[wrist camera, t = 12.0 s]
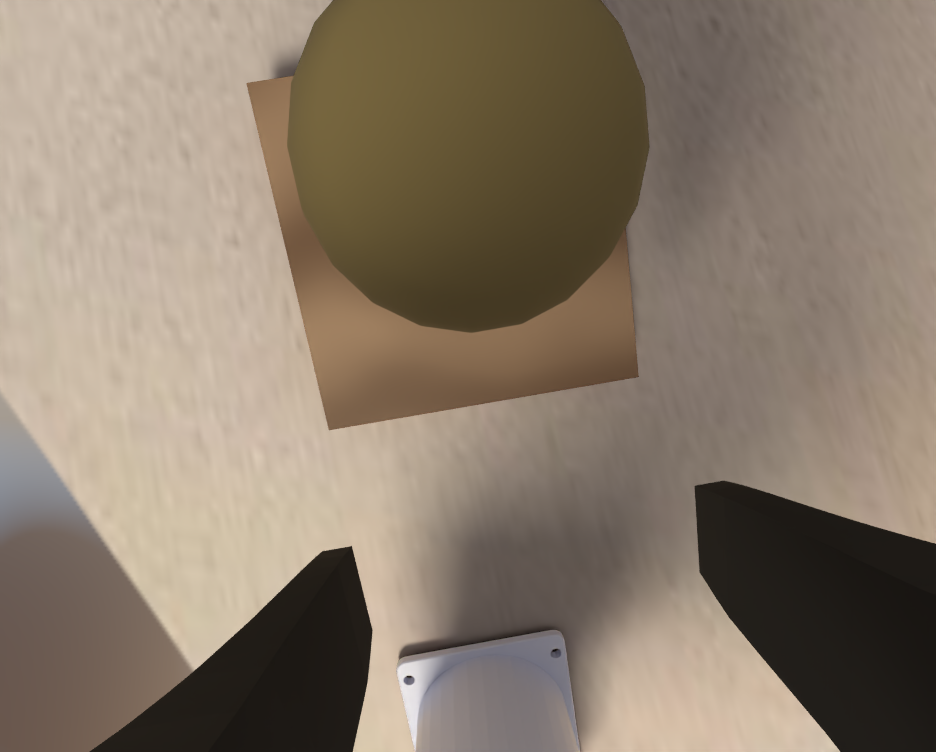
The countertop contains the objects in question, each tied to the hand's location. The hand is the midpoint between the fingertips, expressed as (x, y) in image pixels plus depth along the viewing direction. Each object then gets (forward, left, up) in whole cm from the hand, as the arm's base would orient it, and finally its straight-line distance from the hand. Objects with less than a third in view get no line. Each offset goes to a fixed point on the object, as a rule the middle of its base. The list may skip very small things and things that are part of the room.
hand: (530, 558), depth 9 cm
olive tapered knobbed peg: (+7, 0, -9) cm, 11 cm away
